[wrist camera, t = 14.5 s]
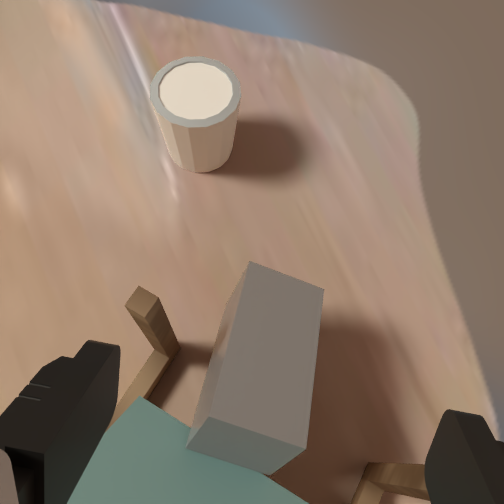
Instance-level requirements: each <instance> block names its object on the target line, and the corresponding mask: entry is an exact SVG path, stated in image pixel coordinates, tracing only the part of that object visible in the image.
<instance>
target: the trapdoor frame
mask: <svg viewBox="0 0 504 504" xmlns="http://www.w3.org/2000/svg"><path fill="white" fill-rule="evenodd" d="M125 307H126V308H127V310H128V311H129V313H130V314H131V316H132V317H133V319H134V320H135V322H136V323H137V324H138V326H139V327H140V329H141V330H142V332H143V333H144V335H145V336H146V338H147V339H148V341H149V342H150V343H151V345H152V346H153V348H154V349H155V350H154V351H153V353H152V354H151V356H150V357H149V359H148V360H147V362H146V363H145V365H144V366H143V368H142V369H141V370H140V372H139V373H138V375H137V376H136V378H135V379H134V381H133V382H132V384H131V385H130V387H129V388H128V390H127V391H126V393H125V394H124V396H123V397H122V399H121V400H120V402H119V403H118V405H117V406H116V408H115V411H114V414H113V417H112V419H111V422H110V424H109V426H108V427H107V429H106V431H107V430H108V429H109V428H110V427H111V426H112V425H113V424H114V422H115V421H116V420H117V419H118V418H119V417H120V416H121V415H122V414H123V413H124V412H125V411H126V410H127V408H128V407H129V406H130V405H131V404H132V403H133V402H134V401H135V400H136V399H137V398H138V397H139V396H141V397H143V398H144V399H146V400H147V399H148V397H149V396H150V394H151V393H152V391H153V390H154V388H155V387H156V385H157V384H158V382H159V381H160V379H161V377H162V376H163V374H164V373H165V371H166V370H167V368H168V367H169V365H170V364H171V362H172V361H173V359H174V357H175V356H176V354H177V353H178V351H179V350H180V345H179V343H178V341H177V339H176V336H175V334H174V332H173V329H172V327H171V325H170V322H169V320H168V318H167V316H166V313H165V311H164V309H163V306H162V304H161V302H160V299H159V297H157V296H155V295H154V294H152V293H150V292H149V291H147V290H145V289H144V288H142V287H140V286H138V287H137V289H136V290H135V292H134V293H133V294H132V296H131V297H130V298H129V300H128V301H127V303H126V304H125ZM106 431H105V432H106ZM424 468H425V465H423V464H398V463H374V462H368V465H367V467H366V469H365V471H364V474H363V476H362V478H361V481H360V483H359V485H358V487H357V490H356V492H355V494H354V497H353V499H352V501H351V504H379V502H380V500H381V497H382V495H383V492H384V491H388V492H392V493H397V494H401V495H406V496H411V497H415V498H420V499H424V500H429V501H430V498H429V494H428V491H427V488H426V484H425V477H424Z"/></svg>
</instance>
